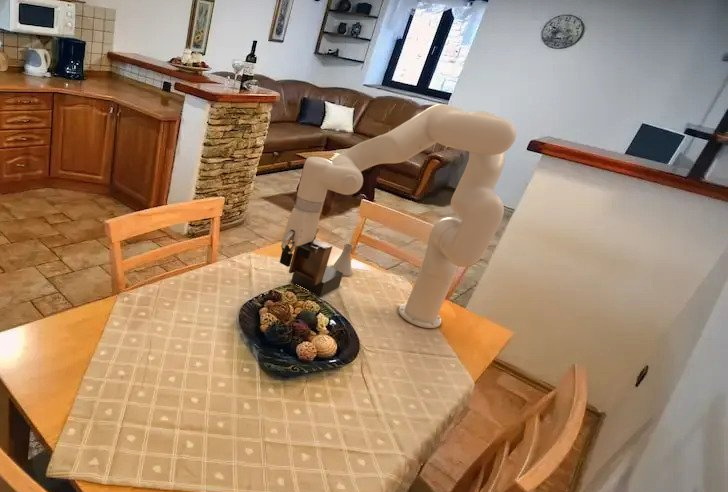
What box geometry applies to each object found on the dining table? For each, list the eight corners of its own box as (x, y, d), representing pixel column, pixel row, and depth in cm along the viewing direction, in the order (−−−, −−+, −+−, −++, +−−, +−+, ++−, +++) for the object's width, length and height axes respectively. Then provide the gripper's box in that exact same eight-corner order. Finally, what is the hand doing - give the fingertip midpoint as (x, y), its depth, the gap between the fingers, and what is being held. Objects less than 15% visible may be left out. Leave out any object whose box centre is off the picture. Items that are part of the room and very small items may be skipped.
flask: (350, 268, 176) (358, 243, 172) (352, 278, 170) (360, 251, 165) (329, 265, 176) (337, 239, 172) (331, 274, 170) (339, 247, 165)
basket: (305, 232, 151) (290, 237, 145) (333, 244, 146) (318, 250, 140) (296, 269, 157) (280, 275, 151) (321, 282, 152) (307, 289, 146)
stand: (310, 273, 168) (314, 259, 166) (339, 286, 162) (343, 273, 160) (290, 282, 160) (294, 268, 157) (319, 297, 154) (323, 283, 152)
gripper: (314, 195, 143) (299, 249, 151) (279, 204, 131) (265, 262, 139) (336, 204, 139) (320, 259, 147) (303, 214, 127) (287, 273, 135)
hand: (294, 260), depth 143 cm, fingers open, 9 cm apart
